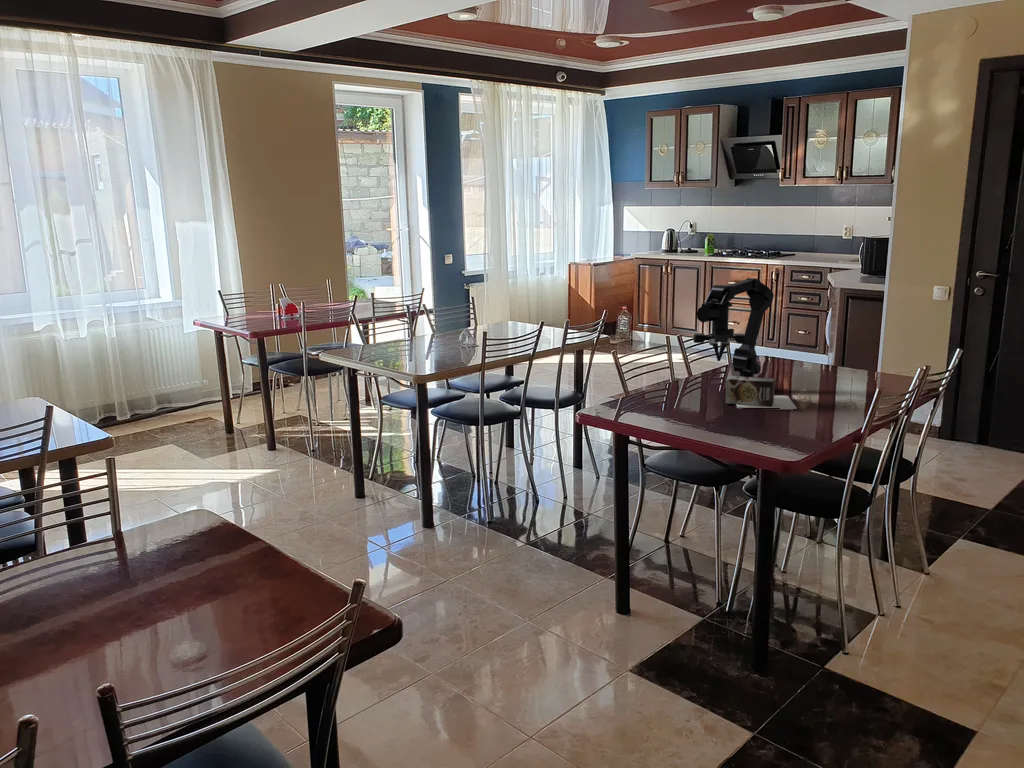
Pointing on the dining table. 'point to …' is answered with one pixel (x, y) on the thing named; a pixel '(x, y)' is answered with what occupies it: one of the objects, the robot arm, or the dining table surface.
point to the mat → (774, 404)
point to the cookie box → (750, 390)
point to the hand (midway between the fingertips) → (718, 361)
